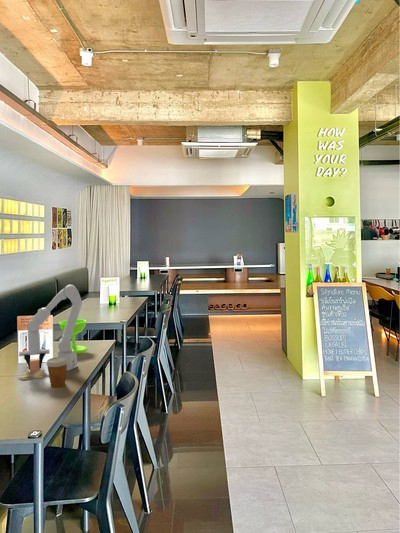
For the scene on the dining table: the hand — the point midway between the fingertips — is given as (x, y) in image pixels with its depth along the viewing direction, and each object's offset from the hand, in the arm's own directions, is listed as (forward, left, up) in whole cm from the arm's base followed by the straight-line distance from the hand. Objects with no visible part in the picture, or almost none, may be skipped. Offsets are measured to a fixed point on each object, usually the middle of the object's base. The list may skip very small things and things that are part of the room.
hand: (35, 368), depth 210 cm
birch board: (-6, +7, -1) cm, 9 cm away
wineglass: (+8, -39, -2) cm, 40 cm away
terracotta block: (0, 0, -1) cm, 1 cm away
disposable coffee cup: (-26, +12, -2) cm, 29 cm away
